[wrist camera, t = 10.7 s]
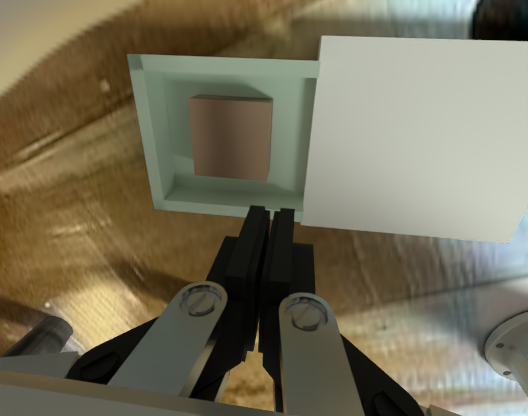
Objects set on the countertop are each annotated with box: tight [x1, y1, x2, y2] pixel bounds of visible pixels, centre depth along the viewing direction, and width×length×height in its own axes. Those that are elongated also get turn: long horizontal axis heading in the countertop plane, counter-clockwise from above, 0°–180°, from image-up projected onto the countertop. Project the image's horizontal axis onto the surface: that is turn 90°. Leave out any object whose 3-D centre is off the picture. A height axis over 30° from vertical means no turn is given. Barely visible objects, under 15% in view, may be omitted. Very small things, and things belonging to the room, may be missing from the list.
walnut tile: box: [188, 94, 273, 181], centre depth 22 cm, size 6×6×2 cm
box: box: [127, 54, 321, 222], centre depth 23 cm, size 13×12×5 cm
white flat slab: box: [301, 36, 528, 244], centre depth 23 cm, size 18×15×3 cm
